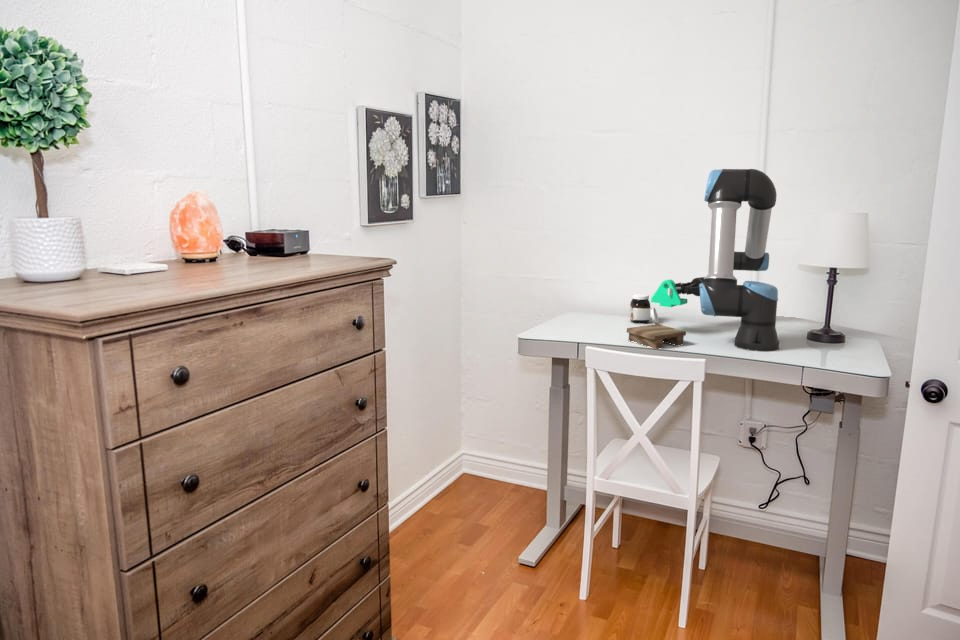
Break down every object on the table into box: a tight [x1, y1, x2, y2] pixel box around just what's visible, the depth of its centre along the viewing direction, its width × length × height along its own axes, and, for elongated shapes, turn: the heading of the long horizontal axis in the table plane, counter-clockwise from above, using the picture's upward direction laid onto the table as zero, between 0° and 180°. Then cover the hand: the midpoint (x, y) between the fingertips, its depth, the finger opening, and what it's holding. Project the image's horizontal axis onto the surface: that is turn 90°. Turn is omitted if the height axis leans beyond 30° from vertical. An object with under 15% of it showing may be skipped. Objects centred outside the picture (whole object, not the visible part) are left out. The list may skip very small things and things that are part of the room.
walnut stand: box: [626, 323, 687, 350], centre depth 255 cm, size 15×15×5 cm
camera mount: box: [650, 279, 688, 308], centre depth 269 cm, size 12×8×10 cm, turn 51°
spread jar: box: [629, 293, 659, 325], centre depth 291 cm, size 12×11×12 cm
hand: (663, 290), depth 266 cm, fingers closed on camera mount, 5 cm apart
